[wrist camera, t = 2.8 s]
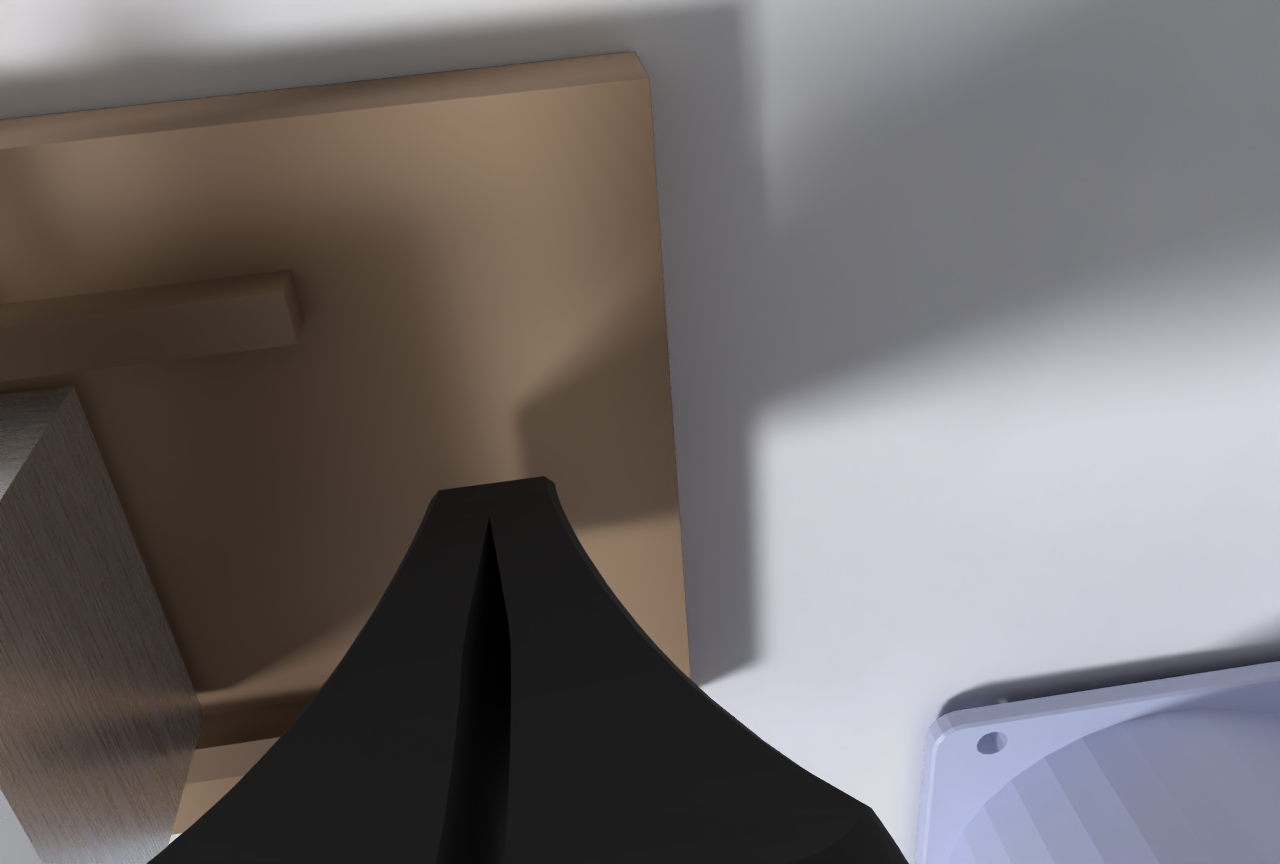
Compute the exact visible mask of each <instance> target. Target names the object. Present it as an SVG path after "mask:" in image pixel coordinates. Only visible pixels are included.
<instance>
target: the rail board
mask: <svg viewBox="0 0 1280 864" xmlns="http://www.w3.org/2000/svg"><path fill="white" fill-rule="evenodd" d="M66 386H74V389H75V391H76V394H77V396H78V399H79V401H80V404H81V406H82V409H83V411H84V414H85V416H86V419H87V421H88V424H89V426H90V429H91V431H92V434H93V436H94V439H95V441H96V444H97V446H98V449H99V451H100V454H101V456H102V459H103V461H104V464H105V466H106V469H107V471H108V474H109V476H110V479H111V481H112V484H113V486H114V489H115V491H116V494H117V496H118V499H119V502H120V504H121V507H122V509H123V512H124V514H125V517H126V519H127V522H128V524H129V527H130V529H131V532H132V534H133V537H134V539H135V542H136V544H137V547H138V549H139V552H140V554H141V557H142V559H143V562H144V564H145V567H146V569H147V572H148V574H149V577H150V579H151V582H152V584H153V587H154V589H155V592H156V594H157V597H158V599H159V602H160V604H161V607H162V609H163V612H164V614H165V617H166V619H167V622H168V624H169V627H170V629H171V632H172V634H173V637H174V639H175V642H176V644H177V647H178V649H179V652H180V654H181V657H182V659H183V662H184V664H185V667H186V669H187V672H188V674H189V677H190V679H191V682H192V684H193V687H194V689H195V692H196V694H197V697H198V700H199V702H200V705H201V707H202V710H203V712H204V715H205V716H204V719H203V723H202V726H201V730H200V733H199V737H198V741H197V744H196V748H195V751H194V755H193V758H192V762H191V766H190V769H189V773H188V776H187V780H186V783H185V787H184V791H183V794H182V798H181V801H180V805H179V808H178V812H177V816H176V819H175V823H174V826H173V830H172V833H171V835H172V834H179V833H183V832H184V831H186V830H187V829H188V828H189V827H190V826H191V825H193V824H194V823H195V822H196V821H197V820H198V819H199V818H200V817H202V816H203V815H204V814H205V813H206V812H207V811H208V810H209V809H210V808H211V807H212V806H213V805H215V804H216V803H217V802H218V801H219V800H220V799H221V798H222V797H223V796H224V795H225V794H226V793H228V792H229V791H230V790H231V789H232V788H233V787H234V786H235V785H236V784H237V783H238V782H239V781H240V780H241V779H242V778H243V777H244V775H245V774H246V773H247V772H248V771H249V770H250V769H251V768H252V767H253V766H254V765H255V764H256V763H257V762H258V761H259V760H260V759H261V758H262V757H263V755H264V754H265V753H266V752H267V751H268V750H269V749H270V748H271V747H272V746H273V744H274V743H275V742H276V741H277V740H278V739H279V738H280V737H281V736H282V735H283V733H284V732H285V731H286V730H287V729H288V728H289V727H290V726H291V724H292V723H293V722H294V721H295V720H296V718H297V717H298V716H299V715H300V713H301V712H302V711H303V710H304V709H305V707H306V706H307V705H308V704H309V702H310V701H311V700H312V699H313V698H314V696H315V695H316V694H317V692H318V691H319V690H320V688H321V687H322V686H323V685H324V683H325V682H326V681H327V679H328V678H329V677H330V675H331V674H332V672H333V671H334V670H335V668H336V667H337V666H338V664H339V663H340V661H341V660H342V659H343V657H344V656H345V654H346V652H347V651H348V649H349V648H350V646H351V645H352V643H353V642H354V640H355V639H356V637H357V636H358V634H359V633H360V631H361V630H362V628H363V627H364V625H365V624H366V622H367V621H368V619H369V618H370V616H371V615H372V613H373V611H374V610H375V608H376V606H377V605H378V603H379V601H380V600H381V598H382V596H383V594H384V593H385V591H386V589H387V587H388V586H389V584H390V582H391V580H392V579H393V577H394V575H395V573H396V571H397V570H398V568H399V566H400V564H401V563H402V561H403V559H404V557H405V555H406V553H407V551H408V549H409V547H410V545H411V543H412V541H413V539H414V537H415V535H416V533H417V531H418V529H419V526H420V524H421V522H422V520H423V517H424V515H425V513H426V511H427V508H428V506H429V503H430V501H431V499H432V498H433V497H434V495H435V494H436V493H437V492H438V491H439V490H443V489H451V488H458V487H466V486H473V485H481V484H488V483H496V482H503V481H511V480H518V479H526V478H533V477H541V476H545V477H547V478H548V479H550V480H551V481H552V482H554V483H555V486H556V491H557V494H558V497H559V500H560V503H561V505H562V508H563V510H564V512H565V515H566V517H567V519H568V521H569V523H570V525H571V526H572V528H573V530H574V532H575V534H576V536H577V538H578V539H579V541H580V543H581V545H582V546H583V548H584V550H585V551H586V553H587V554H588V556H589V557H590V559H591V560H592V562H593V563H594V565H595V566H596V568H597V569H598V571H599V572H600V574H601V575H602V577H603V578H604V580H605V581H606V583H607V584H608V586H609V587H610V588H611V590H612V591H613V592H614V594H615V595H616V597H617V598H618V599H619V601H620V602H621V603H622V604H623V606H624V607H625V608H626V609H627V611H628V612H629V613H630V614H631V616H632V617H633V618H634V619H635V621H636V622H637V623H638V624H639V626H640V627H641V628H642V629H643V630H644V631H645V633H646V634H647V635H648V636H649V637H650V638H651V639H652V640H653V642H654V643H655V644H656V645H657V646H658V647H659V648H660V649H661V650H662V651H663V652H664V653H665V654H666V655H667V657H668V658H669V659H670V660H671V661H672V662H673V663H674V664H675V665H676V666H677V667H678V668H679V669H680V670H681V671H682V672H683V673H684V674H685V675H686V676H687V677H688V678H690V679H691V676H690V661H689V647H688V632H687V618H686V603H685V589H684V574H683V560H682V545H681V531H680V516H679V502H678V487H677V473H676V458H675V444H674V429H673V415H672V400H671V386H670V371H669V357H668V342H667V327H666V313H665V298H664V284H663V269H662V255H661V240H660V226H659V211H658V197H657V182H656V168H655V153H654V139H653V124H652V110H651V95H650V81H649V76H648V75H647V73H646V71H645V69H644V67H643V66H642V64H641V62H640V60H639V58H638V57H637V55H636V53H635V51H634V52H625V53H616V54H607V55H597V56H588V57H579V58H570V59H560V60H551V61H542V62H532V63H523V64H514V65H505V66H495V67H486V68H477V69H468V70H458V71H449V72H440V73H430V74H421V75H412V76H403V77H393V78H384V79H375V80H365V81H356V82H347V83H338V84H328V85H319V86H310V87H301V88H291V89H282V90H273V91H263V92H254V93H245V94H236V95H226V96H217V97H208V98H199V99H189V100H180V101H171V102H161V103H152V104H143V105H134V106H124V107H115V108H106V109H97V110H87V111H78V112H69V113H59V114H50V115H41V116H32V117H22V118H13V119H4V120H0V395H2V394H10V393H18V392H26V391H34V390H42V389H50V388H58V387H66Z"/></svg>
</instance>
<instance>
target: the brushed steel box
mask: <svg viewBox="0 0 1280 864" xmlns="http://www.w3.org/2000/svg"><path fill="white" fill-rule="evenodd" d="M204 716H205V715H204V712H203V710H202V707H201V705H200V702H199V700H198V697H197V694H196V692H195V689H194V687H193V684H192V682H191V679H190V677H189V674H188V672H187V669H186V667H185V664H184V662H183V659H182V657H181V654H180V652H179V649H178V647H177V644H176V642H175V639H174V637H173V634H172V632H171V629H170V627H169V624H168V622H167V619H166V617H165V614H164V612H163V609H162V607H161V604H160V602H159V599H158V597H157V594H156V592H155V589H154V587H153V584H152V582H151V579H150V577H149V574H148V572H147V569H146V567H145V564H144V562H143V559H142V557H141V554H140V552H139V549H138V547H137V544H136V542H135V539H134V537H133V534H132V532H131V529H130V527H129V524H128V522H127V519H126V517H125V514H124V512H123V509H122V507H121V504H120V502H119V499H118V496H117V494H116V491H115V489H114V486H113V484H112V481H111V479H110V476H109V474H108V471H107V469H106V466H105V464H104V461H103V459H102V456H101V454H100V451H99V449H98V446H97V444H96V441H95V439H94V436H93V434H92V431H91V429H90V426H89V424H88V421H87V419H86V416H85V414H84V411H83V409H82V406H81V404H80V401H79V399H78V396H77V394H76V391H75V389H74V386H66V387H58V388H50V389H42V390H34V391H26V392H18V393H10V394H2V395H0V864H146V863H148V862H149V861H150V860H151V859H153V858H154V857H155V856H156V855H157V854H159V853H160V852H161V851H162V850H164V849H165V848H166V847H167V846H168V844H169V841H170V837H171V833H172V830H173V826H174V823H175V819H176V816H177V812H178V808H179V805H180V801H181V798H182V794H183V791H184V787H185V783H186V780H187V776H188V773H189V769H190V766H191V762H192V758H193V755H194V751H195V748H196V744H197V741H198V737H199V733H200V730H201V726H202V723H203V719H204Z"/></svg>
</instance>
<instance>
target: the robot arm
mask: <svg viewBox="0 0 1280 864" xmlns="http://www.w3.org/2000/svg"><path fill="white" fill-rule="evenodd" d="M989 733H990V734H989ZM986 734H987V735H986ZM146 864H909V863H908V862H907V860H906V859H905V857H904V855H903V854H902V852H901V850H900V849H899V847H898V846H897V844H896V843H895V841H894V840H893V838H892V837H891V835H890V834H889V832H888V831H887V829H886V828H885V827H884V825H883V824H882V822H881V821H880V819H879V818H878V817H877V815H876V814H875V812H874V811H873V810H872V808H870V807H869V806H867V805H865V804H864V803H862V802H860V801H858V800H857V799H855V798H853V797H851V796H850V795H848V794H846V793H844V792H843V791H841V790H839V789H837V788H836V787H834V786H832V785H830V784H829V783H827V782H825V781H823V780H822V779H820V778H818V777H817V776H815V775H813V774H811V773H810V772H808V771H807V770H805V769H803V768H802V767H800V766H799V765H798V764H796V763H795V762H793V761H792V760H790V759H789V758H788V757H786V756H785V755H783V754H782V753H780V752H779V751H777V750H776V749H775V748H773V747H772V746H770V745H769V744H767V743H766V742H764V741H763V740H762V739H761V738H759V737H758V736H757V735H756V734H755V733H753V732H752V731H751V730H750V729H748V728H747V727H746V726H745V725H743V724H742V723H741V722H740V721H738V720H737V719H736V718H735V717H733V716H732V715H731V714H730V713H728V712H727V711H726V710H725V709H723V708H722V707H721V706H720V705H718V704H717V703H716V702H715V701H713V700H712V699H711V698H710V697H709V696H708V695H707V694H706V693H704V692H703V691H702V690H701V689H700V688H699V687H698V686H697V685H696V684H695V683H694V682H693V681H692V680H691V679H690V678H688V677H687V676H686V675H685V674H684V673H683V672H682V671H681V670H680V669H679V668H678V667H677V666H676V665H675V664H674V663H673V662H672V661H671V660H670V659H669V658H668V657H667V655H666V654H665V653H664V652H663V651H662V650H661V649H660V648H659V647H658V646H657V645H656V644H655V643H654V642H653V640H652V639H651V638H650V637H649V636H648V635H647V634H646V633H645V631H644V630H643V629H642V628H641V627H640V626H639V624H638V623H637V622H636V621H635V619H634V618H633V617H632V616H631V614H630V613H629V612H628V611H627V609H626V608H625V607H624V606H623V604H622V603H621V602H620V601H619V599H618V598H617V597H616V595H615V594H614V592H613V591H612V590H611V588H610V587H609V586H608V584H607V583H606V581H605V580H604V578H603V577H602V575H601V574H600V572H599V571H598V569H597V568H596V566H595V565H594V563H593V562H592V560H591V559H590V557H589V556H588V554H587V553H586V551H585V550H584V548H583V546H582V545H581V543H580V541H579V539H578V538H577V536H576V534H575V532H574V530H573V528H572V526H571V525H570V523H569V521H568V519H567V517H566V515H565V512H564V510H563V508H562V505H561V503H560V500H559V497H558V494H557V491H556V486H555V483H554V482H552V481H551V480H550V479H548V478H547V477H545V476H541V477H533V478H526V479H518V480H511V481H503V482H496V483H488V484H481V485H473V486H466V487H458V488H451V489H443V490H439V491H438V492H437V493H436V494H435V495H434V497H433V498H432V499H431V501H430V503H429V506H428V508H427V511H426V513H425V515H424V517H423V520H422V522H421V524H420V526H419V529H418V531H417V533H416V535H415V537H414V539H413V541H412V543H411V545H410V547H409V549H408V551H407V553H406V555H405V557H404V559H403V561H402V563H401V564H400V566H399V568H398V570H397V571H396V573H395V575H394V577H393V579H392V580H391V582H390V584H389V586H388V587H387V589H386V591H385V593H384V594H383V596H382V598H381V600H380V601H379V603H378V605H377V606H376V608H375V610H374V611H373V613H372V615H371V616H370V618H369V619H368V621H367V622H366V624H365V625H364V627H363V628H362V630H361V631H360V633H359V634H358V636H357V637H356V639H355V640H354V642H353V643H352V645H351V646H350V648H349V649H348V651H347V652H346V654H345V656H344V657H343V659H342V660H341V661H340V663H339V664H338V666H337V667H336V668H335V670H334V671H333V672H332V674H331V675H330V677H329V678H328V679H327V681H326V682H325V683H324V685H323V686H322V687H321V688H320V690H319V691H318V692H317V694H316V695H315V696H314V698H313V699H312V700H311V701H310V702H309V704H308V705H307V706H306V707H305V709H304V710H303V711H302V712H301V713H300V715H299V716H298V717H297V718H296V720H295V721H294V722H293V723H292V724H291V726H290V727H289V728H288V729H287V730H286V731H285V732H284V733H283V735H282V736H281V737H280V738H279V739H278V740H277V741H276V742H275V743H274V744H273V746H272V747H271V748H270V749H269V750H268V751H267V752H266V753H265V754H264V755H263V757H262V758H261V759H260V760H259V761H258V762H257V763H256V764H255V765H254V766H253V767H252V768H251V769H250V770H249V771H248V772H247V773H246V774H245V775H244V777H243V778H242V779H241V780H240V781H239V782H238V783H237V784H236V785H235V786H234V787H233V788H232V789H231V790H230V791H229V792H228V793H226V794H225V795H224V796H223V797H222V798H221V799H220V800H219V801H218V802H217V803H216V804H215V805H213V806H212V807H211V808H210V809H209V810H208V811H207V812H206V813H205V814H204V815H203V816H202V817H200V818H199V819H198V820H197V821H196V822H195V823H194V824H193V825H191V826H190V827H189V828H188V829H187V830H186V831H184V832H183V833H182V834H181V835H180V836H179V837H177V838H176V839H175V840H174V841H173V842H172V843H170V844H169V845H168V846H167V847H166V848H165V849H164V850H162V851H161V852H160V853H159V854H157V855H156V856H155V857H154V858H153V859H151V860H150V861H149V862H148V863H146ZM915 864H1280V661H1276V662H1269V663H1263V664H1256V665H1250V666H1243V667H1237V668H1230V669H1224V670H1217V671H1211V672H1204V673H1198V674H1191V675H1185V676H1178V677H1172V678H1165V679H1159V680H1152V681H1146V682H1139V683H1133V684H1126V685H1120V686H1113V687H1106V688H1100V689H1093V690H1087V691H1080V692H1074V693H1067V694H1061V695H1054V696H1048V697H1041V698H1035V699H1028V700H1022V701H1015V702H1009V703H1002V704H996V705H989V706H983V707H976V708H970V709H963V710H957V711H953V712H950V713H946V714H944V715H943V716H941V717H939V718H938V719H936V721H935V722H934V723H933V724H932V725H931V726H930V727H929V730H928V732H927V735H926V743H925V754H924V765H923V777H922V788H921V799H920V810H919V821H918V832H917V843H916V854H915Z"/></svg>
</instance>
